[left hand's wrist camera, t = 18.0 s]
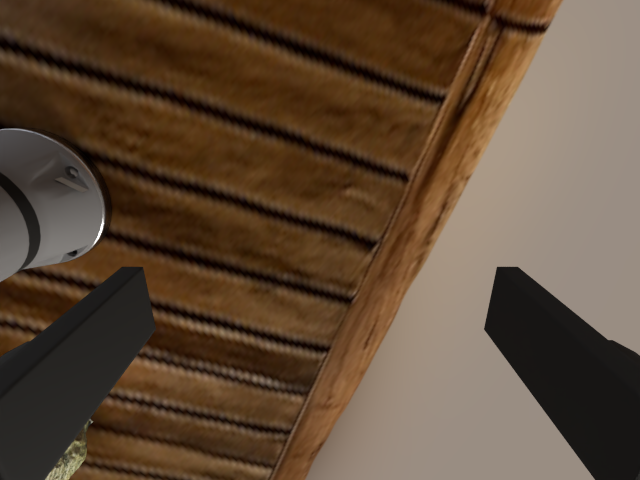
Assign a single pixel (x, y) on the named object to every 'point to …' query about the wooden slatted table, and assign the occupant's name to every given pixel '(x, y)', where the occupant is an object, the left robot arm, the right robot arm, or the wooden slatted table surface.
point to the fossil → (71, 457)
